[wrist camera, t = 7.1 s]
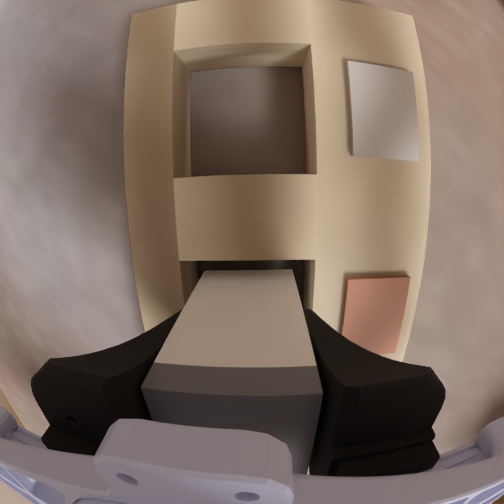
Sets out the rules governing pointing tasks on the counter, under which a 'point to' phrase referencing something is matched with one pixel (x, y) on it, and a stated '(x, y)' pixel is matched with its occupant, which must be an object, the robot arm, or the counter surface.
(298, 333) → the plug
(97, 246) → the counter surface
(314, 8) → the socket block
